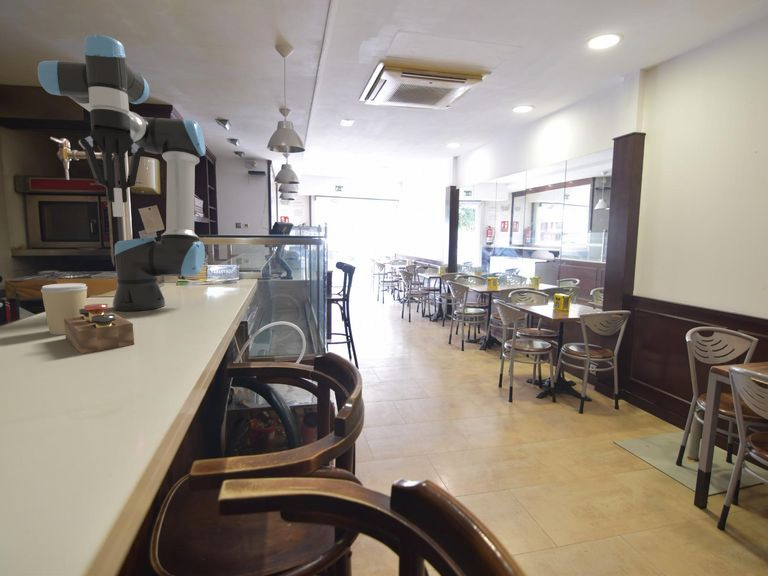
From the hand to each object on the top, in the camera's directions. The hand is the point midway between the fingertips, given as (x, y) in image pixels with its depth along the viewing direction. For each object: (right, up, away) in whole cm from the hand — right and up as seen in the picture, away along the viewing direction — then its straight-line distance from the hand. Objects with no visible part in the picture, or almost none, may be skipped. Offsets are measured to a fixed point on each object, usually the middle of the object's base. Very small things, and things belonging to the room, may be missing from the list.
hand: (118, 216), depth 95 cm
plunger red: (-4, -27, 0) cm, 28 cm away
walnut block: (-4, -30, 0) cm, 30 cm away
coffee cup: (-19, -28, +9) cm, 35 cm away
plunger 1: (-9, -29, +4) cm, 30 cm away
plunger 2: (0, -30, -4) cm, 30 cm away
